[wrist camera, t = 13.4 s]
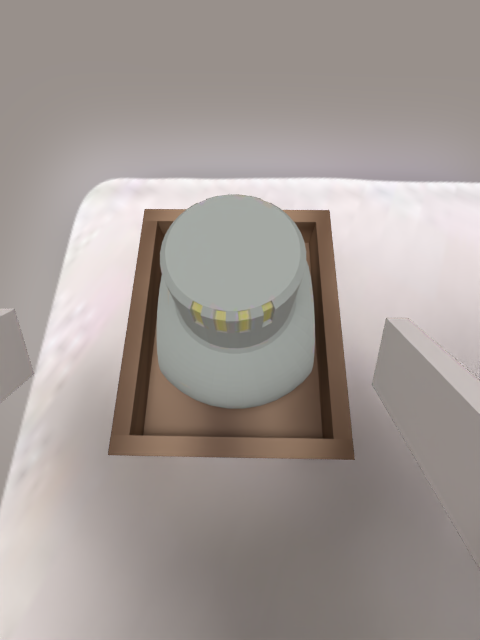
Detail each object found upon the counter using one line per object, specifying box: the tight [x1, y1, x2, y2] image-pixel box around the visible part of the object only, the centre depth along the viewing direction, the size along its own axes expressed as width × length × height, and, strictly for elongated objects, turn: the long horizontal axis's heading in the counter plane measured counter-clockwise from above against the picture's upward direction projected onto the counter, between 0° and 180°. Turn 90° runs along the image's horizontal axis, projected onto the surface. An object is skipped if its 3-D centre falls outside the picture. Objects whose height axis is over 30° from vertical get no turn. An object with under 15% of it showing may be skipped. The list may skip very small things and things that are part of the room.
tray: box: [108, 209, 355, 460], centre depth 21 cm, size 13×16×4 cm
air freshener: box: [157, 195, 315, 409], centre depth 17 cm, size 11×8×10 cm
